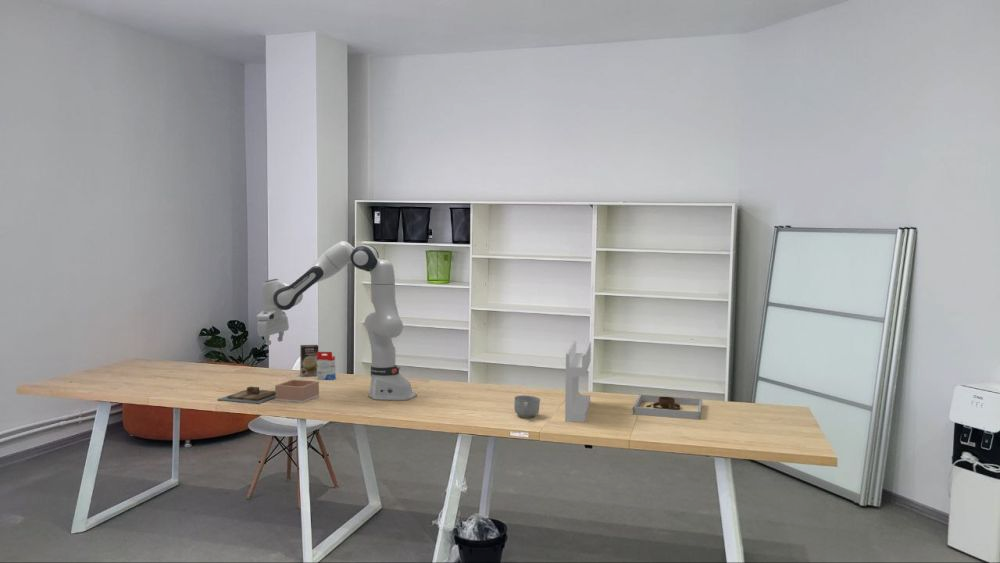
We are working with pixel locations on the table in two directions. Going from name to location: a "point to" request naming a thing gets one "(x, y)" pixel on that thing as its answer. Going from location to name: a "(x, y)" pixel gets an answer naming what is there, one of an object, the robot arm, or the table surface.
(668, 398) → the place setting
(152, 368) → the table surface
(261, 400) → the rubber mat
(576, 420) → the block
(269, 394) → the walnut lid
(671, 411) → the grey tray frame
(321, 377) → the ink box
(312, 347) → the coffee box
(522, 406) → the teacup
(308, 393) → the salmon open box
